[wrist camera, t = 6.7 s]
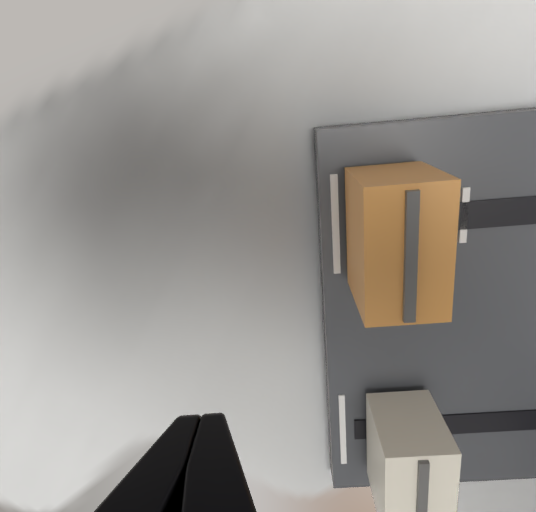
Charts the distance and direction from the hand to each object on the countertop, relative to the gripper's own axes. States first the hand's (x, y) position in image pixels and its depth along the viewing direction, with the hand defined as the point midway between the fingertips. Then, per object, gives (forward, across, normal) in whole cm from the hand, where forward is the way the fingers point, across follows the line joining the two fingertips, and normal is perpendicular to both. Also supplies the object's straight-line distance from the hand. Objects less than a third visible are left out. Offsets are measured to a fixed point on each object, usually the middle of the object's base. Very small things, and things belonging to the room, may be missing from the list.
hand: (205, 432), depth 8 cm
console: (+12, -10, +6) cm, 17 cm away
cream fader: (+11, -7, +11) cm, 17 cm away
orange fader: (+11, -6, 0) cm, 13 cm away
